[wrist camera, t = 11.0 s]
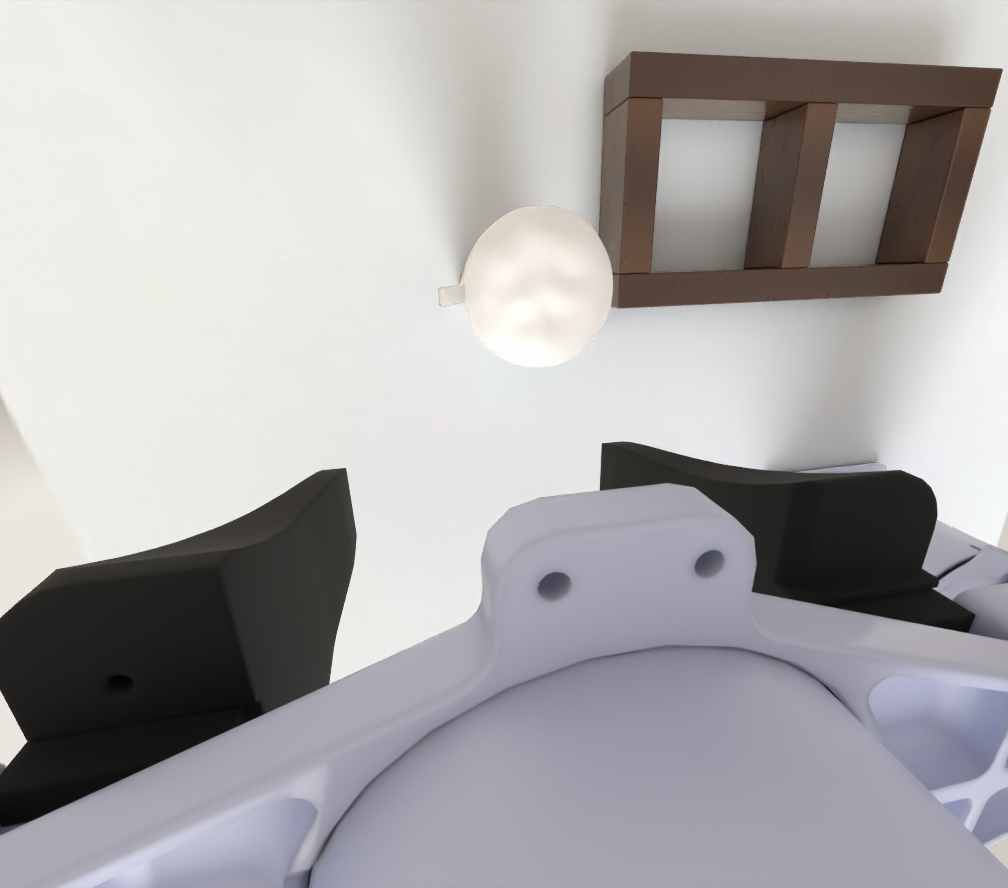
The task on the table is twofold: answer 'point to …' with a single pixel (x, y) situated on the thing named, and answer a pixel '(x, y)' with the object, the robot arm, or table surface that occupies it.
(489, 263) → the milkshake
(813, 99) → the rack
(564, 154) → the table surface
